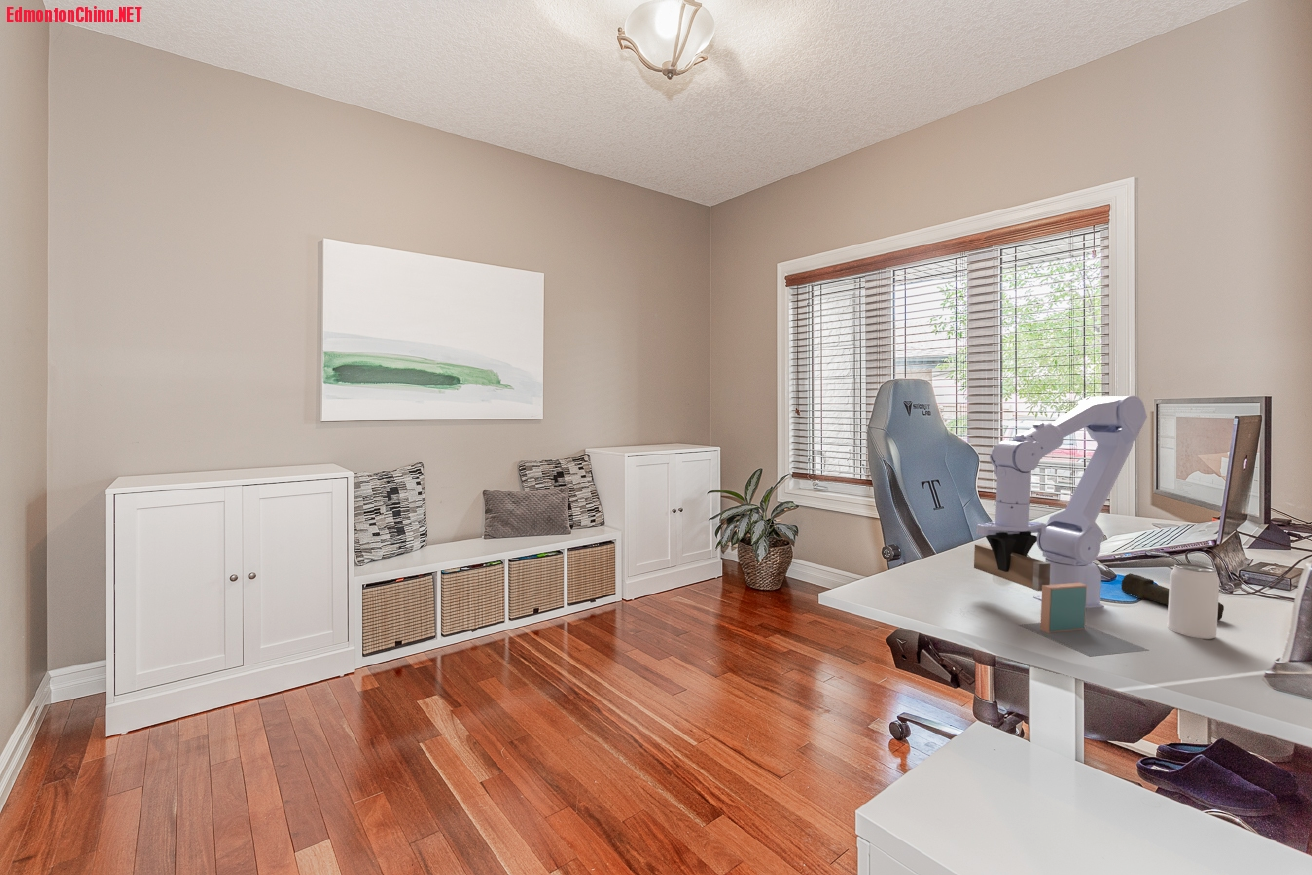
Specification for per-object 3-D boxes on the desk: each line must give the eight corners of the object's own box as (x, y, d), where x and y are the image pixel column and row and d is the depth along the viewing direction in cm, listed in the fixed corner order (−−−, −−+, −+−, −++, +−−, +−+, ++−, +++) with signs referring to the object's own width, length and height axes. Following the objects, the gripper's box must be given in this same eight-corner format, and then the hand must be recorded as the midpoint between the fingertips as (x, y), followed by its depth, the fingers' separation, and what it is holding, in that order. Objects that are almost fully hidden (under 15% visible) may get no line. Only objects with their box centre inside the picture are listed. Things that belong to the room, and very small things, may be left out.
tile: (1076, 625, 109) (1078, 582, 108) (1085, 629, 107) (1087, 585, 107) (1040, 629, 107) (1042, 585, 107) (1048, 633, 105) (1050, 588, 105)
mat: (1072, 622, 112) (1072, 619, 112) (1149, 652, 98) (1149, 649, 98) (1018, 626, 109) (1018, 624, 109) (1089, 658, 96) (1090, 656, 96)
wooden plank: (984, 567, 127) (985, 543, 126) (1049, 590, 111) (1050, 563, 111) (973, 568, 126) (974, 544, 126) (1037, 591, 111) (1038, 563, 110)
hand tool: (1225, 622, 113) (1226, 598, 113) (1207, 623, 112) (1208, 599, 112) (1132, 591, 132) (1133, 570, 132) (1116, 592, 131) (1117, 571, 131)
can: (1220, 643, 102) (1224, 574, 102) (1171, 635, 106) (1174, 568, 105) (1210, 631, 108) (1214, 565, 107) (1164, 624, 111) (1167, 560, 111)
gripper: (1026, 497, 123) (1023, 562, 124) (966, 499, 120) (963, 566, 121) (1056, 503, 116) (1053, 572, 117) (993, 505, 113) (990, 576, 114)
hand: (1009, 570), depth 119 cm, fingers closed on wooden plank, 2 cm apart
